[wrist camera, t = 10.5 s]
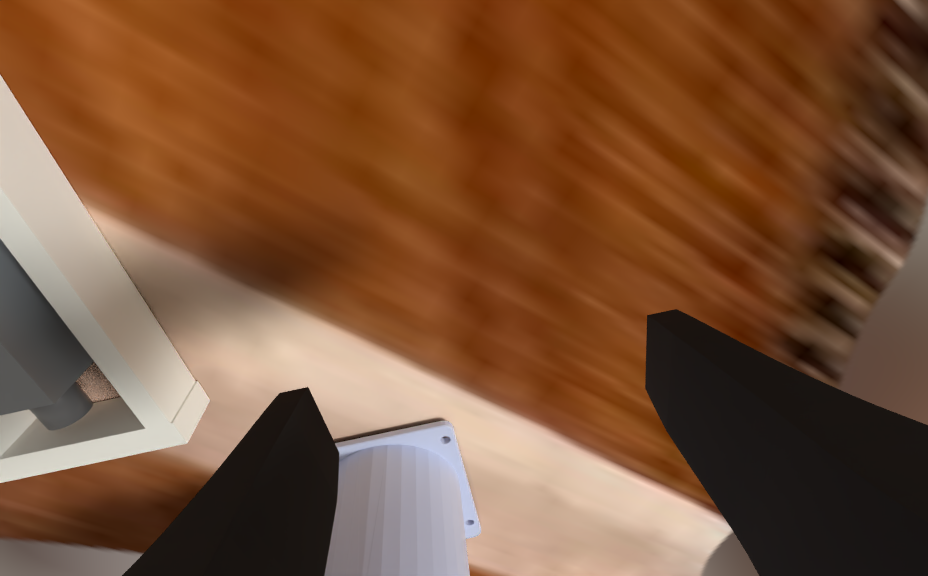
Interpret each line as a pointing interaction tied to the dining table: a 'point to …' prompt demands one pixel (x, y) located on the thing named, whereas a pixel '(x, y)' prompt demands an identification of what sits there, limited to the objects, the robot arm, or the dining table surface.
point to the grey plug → (37, 353)
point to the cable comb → (85, 319)
